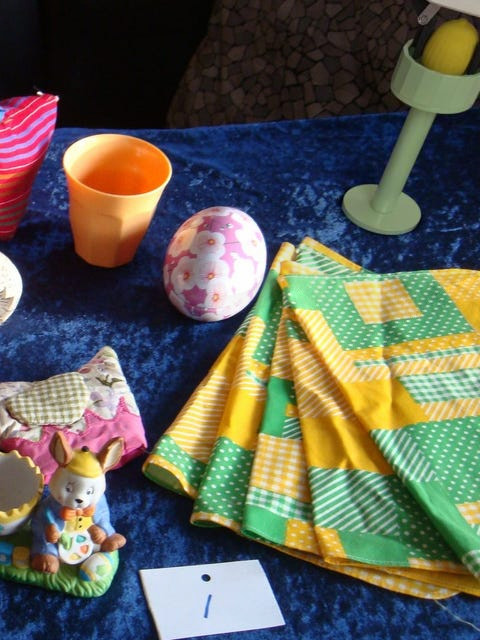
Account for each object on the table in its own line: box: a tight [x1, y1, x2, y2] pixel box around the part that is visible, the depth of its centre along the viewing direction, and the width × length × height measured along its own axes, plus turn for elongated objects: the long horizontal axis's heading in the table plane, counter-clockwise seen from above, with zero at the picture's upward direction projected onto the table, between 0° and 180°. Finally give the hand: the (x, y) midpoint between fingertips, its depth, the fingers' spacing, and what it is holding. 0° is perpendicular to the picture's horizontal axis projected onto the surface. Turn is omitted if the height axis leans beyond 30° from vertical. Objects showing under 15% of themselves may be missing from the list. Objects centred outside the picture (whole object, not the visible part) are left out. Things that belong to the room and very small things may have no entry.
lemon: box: [421, 17, 480, 76], centre depth 96 cm, size 6×6×8 cm
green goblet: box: [341, 38, 480, 236], centre depth 105 cm, size 10×10×23 cm
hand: (445, 61), depth 97 cm, fingers closed on lemon, 5 cm apart
